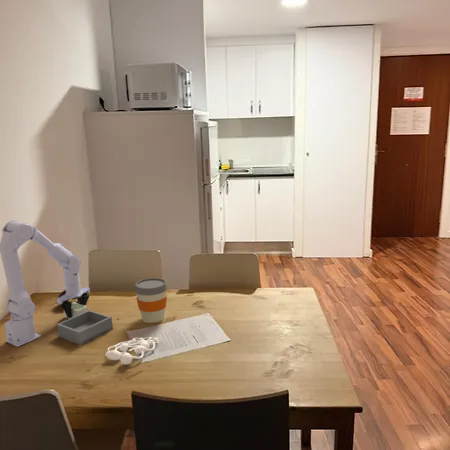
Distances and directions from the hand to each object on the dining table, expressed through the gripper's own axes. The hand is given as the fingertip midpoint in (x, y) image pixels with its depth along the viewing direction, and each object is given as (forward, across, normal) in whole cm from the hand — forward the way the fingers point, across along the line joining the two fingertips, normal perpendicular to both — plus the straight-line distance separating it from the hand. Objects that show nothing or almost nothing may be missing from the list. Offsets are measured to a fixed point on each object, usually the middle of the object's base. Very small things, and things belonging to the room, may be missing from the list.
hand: (76, 314), depth 183 cm
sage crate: (+1, 0, 0) cm, 1 cm away
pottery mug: (+2, +8, +14) cm, 17 cm away
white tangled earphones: (+2, -8, -41) cm, 42 cm away
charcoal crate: (+1, -7, -15) cm, 17 cm away
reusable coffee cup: (+2, +16, -28) cm, 32 cm away
